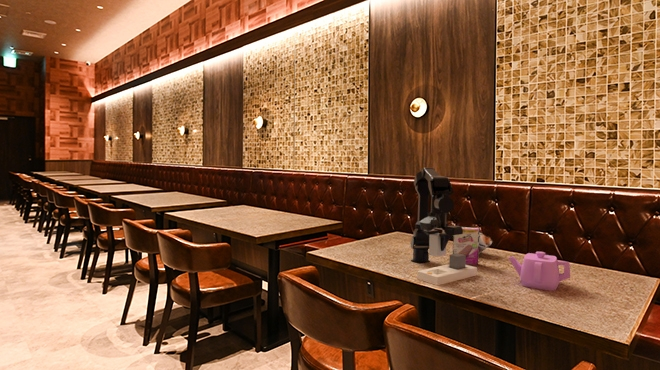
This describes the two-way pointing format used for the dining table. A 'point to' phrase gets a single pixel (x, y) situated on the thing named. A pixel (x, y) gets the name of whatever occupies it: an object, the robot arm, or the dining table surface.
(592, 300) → the dining table surface
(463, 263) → the twin plug
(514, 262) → the teakettle
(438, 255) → the plug
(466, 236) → the candy bar box
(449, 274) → the power strip
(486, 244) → the lucky cat figurine
